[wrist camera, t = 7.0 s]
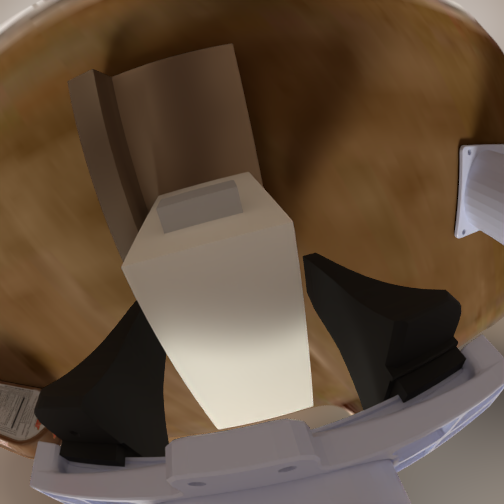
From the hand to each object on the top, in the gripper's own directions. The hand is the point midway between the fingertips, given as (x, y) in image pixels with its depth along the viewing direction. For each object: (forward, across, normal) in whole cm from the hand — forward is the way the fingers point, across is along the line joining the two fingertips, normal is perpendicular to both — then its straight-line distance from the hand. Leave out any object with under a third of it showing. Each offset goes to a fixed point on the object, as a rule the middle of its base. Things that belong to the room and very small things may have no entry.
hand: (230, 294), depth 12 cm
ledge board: (+4, +1, 0) cm, 4 cm away
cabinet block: (+3, 0, 0) cm, 3 cm away
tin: (+5, +27, +10) cm, 29 cm away
